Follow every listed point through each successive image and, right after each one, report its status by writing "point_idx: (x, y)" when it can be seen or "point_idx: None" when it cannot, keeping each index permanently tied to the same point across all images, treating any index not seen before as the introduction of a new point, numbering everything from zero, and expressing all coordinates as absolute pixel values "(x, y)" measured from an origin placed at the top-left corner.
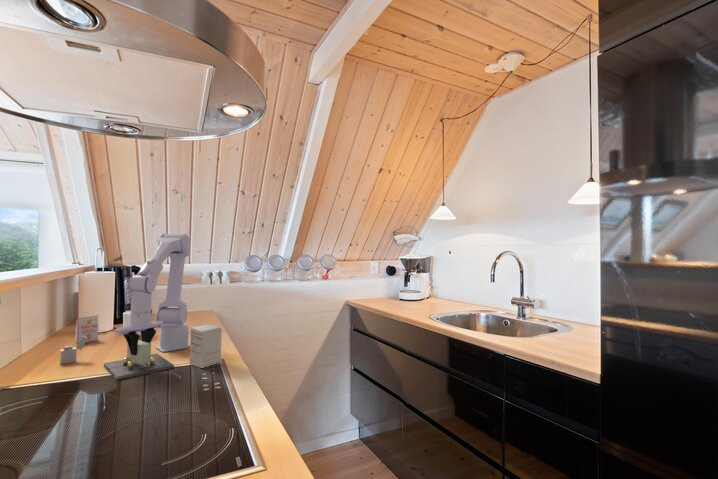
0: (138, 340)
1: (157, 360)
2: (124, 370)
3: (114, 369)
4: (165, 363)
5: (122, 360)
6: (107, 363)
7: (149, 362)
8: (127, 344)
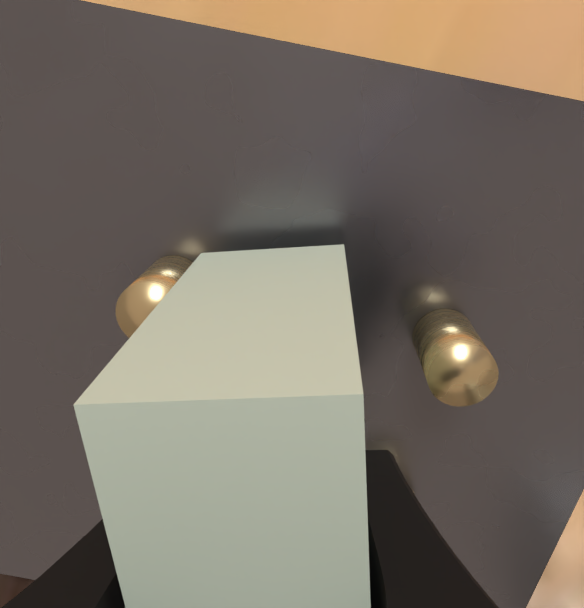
0: (347, 503)
1: (506, 440)
2: (90, 477)
3: (19, 370)
4: (480, 584)
5: (217, 65)
6: (6, 43)
7: (401, 436)
8: (108, 363)
